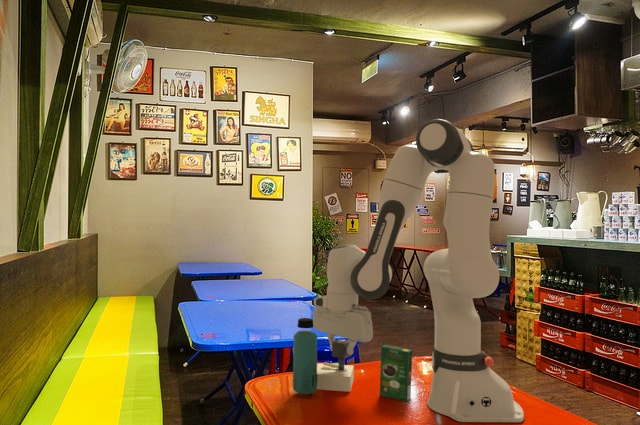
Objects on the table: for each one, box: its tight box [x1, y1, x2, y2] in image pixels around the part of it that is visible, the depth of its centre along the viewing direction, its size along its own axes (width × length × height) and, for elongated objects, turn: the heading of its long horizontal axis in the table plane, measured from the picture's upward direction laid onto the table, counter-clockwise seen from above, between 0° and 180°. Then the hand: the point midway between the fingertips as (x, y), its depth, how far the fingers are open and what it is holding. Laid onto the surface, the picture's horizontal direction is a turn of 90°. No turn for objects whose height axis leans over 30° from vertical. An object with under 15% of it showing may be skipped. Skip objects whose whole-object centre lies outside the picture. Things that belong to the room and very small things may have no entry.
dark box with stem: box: [323, 338, 353, 370], centre depth 134 cm, size 8×4×8 cm, turn 56°
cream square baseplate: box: [316, 362, 355, 393], centre depth 134 cm, size 12×11×4 cm
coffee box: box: [379, 344, 413, 403], centre depth 124 cm, size 8×3×13 cm, turn 57°
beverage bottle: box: [292, 317, 318, 395], centre depth 124 cm, size 6×7×20 cm
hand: (341, 351), depth 133 cm, fingers closed on dark box with stem, 4 cm apart
